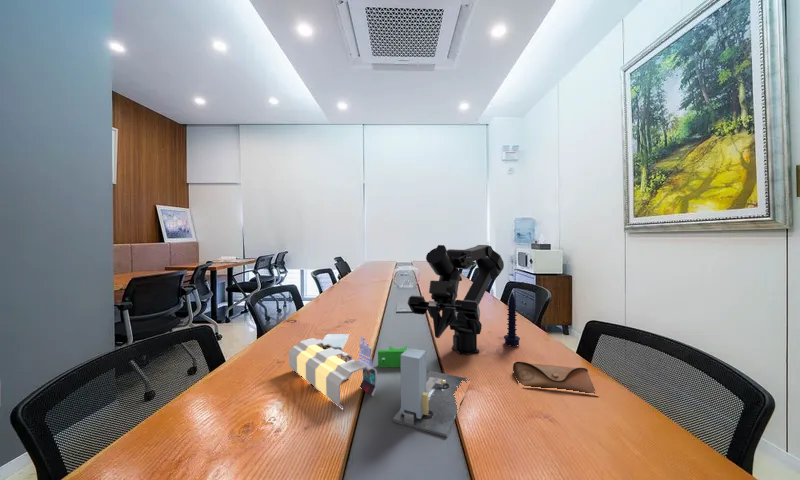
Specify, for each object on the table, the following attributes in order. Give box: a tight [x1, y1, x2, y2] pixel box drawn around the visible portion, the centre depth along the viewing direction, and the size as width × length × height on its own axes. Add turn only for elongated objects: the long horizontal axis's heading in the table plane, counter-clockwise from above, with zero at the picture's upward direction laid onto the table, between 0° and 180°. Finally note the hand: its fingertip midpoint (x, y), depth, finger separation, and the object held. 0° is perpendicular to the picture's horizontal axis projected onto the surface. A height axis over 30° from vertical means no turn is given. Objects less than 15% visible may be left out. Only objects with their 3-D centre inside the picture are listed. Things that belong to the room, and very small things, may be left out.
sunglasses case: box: [512, 361, 596, 394], centre depth 73 cm, size 18×7×7 cm, turn 77°
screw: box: [503, 291, 521, 347], centre depth 97 cm, size 18×5×5 cm
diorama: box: [288, 336, 378, 408], centre depth 74 cm, size 25×10×13 cm, turn 43°
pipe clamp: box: [377, 345, 408, 368], centre depth 84 cm, size 11×4×5 cm, turn 89°
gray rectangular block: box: [399, 347, 429, 419], centre depth 60 cm, size 4×5×12 cm
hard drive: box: [321, 333, 350, 351], centre depth 100 cm, size 2×8×12 cm
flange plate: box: [392, 370, 471, 438], centre depth 66 cm, size 22×11×2 cm, turn 155°
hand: (436, 337), depth 74 cm, fingers closed
